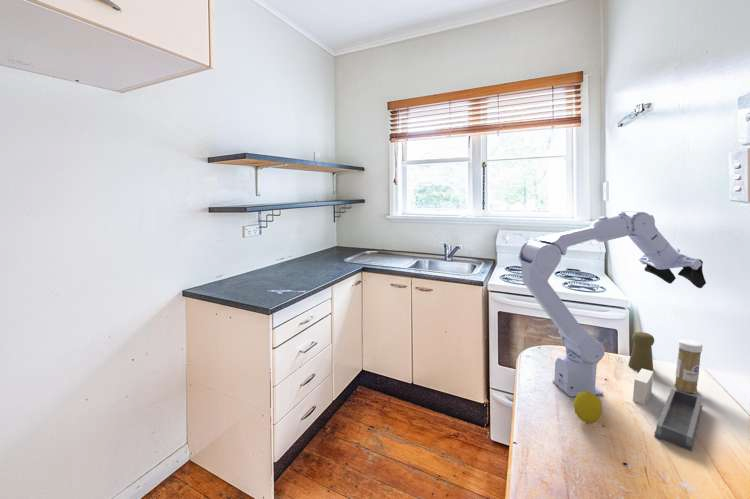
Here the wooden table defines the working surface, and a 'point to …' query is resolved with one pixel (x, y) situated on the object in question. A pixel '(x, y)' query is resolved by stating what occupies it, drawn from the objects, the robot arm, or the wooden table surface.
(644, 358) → the cork
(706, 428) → the wooden table surface
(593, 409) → the lemon
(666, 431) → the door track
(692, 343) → the sprinkles bottle
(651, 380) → the door panel
